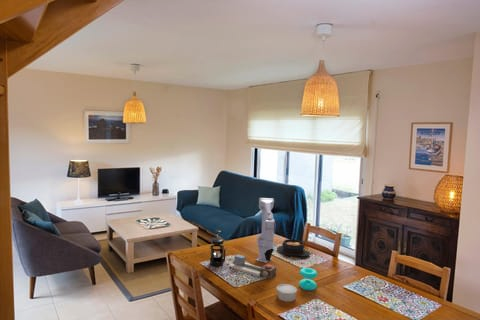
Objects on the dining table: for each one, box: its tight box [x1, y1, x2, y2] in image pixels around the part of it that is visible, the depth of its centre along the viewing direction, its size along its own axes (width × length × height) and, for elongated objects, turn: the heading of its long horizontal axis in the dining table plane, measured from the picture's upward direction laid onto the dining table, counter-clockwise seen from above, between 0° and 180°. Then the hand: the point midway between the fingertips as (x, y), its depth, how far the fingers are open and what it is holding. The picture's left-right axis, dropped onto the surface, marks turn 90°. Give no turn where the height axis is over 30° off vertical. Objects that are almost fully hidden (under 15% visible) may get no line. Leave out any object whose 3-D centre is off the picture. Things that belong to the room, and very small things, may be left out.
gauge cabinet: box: [259, 263, 277, 280], centre depth 205 cm, size 8×7×5 cm
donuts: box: [298, 267, 318, 291], centre depth 191 cm, size 10×10×10 cm
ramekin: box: [275, 283, 298, 303], centre depth 178 cm, size 11×11×5 cm
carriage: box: [233, 253, 247, 266], centre depth 216 cm, size 4×6×5 cm, turn 58°
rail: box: [228, 259, 262, 277], centre depth 213 cm, size 10×22×3 cm, turn 58°
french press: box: [209, 229, 227, 268], centre depth 218 cm, size 12×9×23 cm
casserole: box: [276, 238, 311, 257], centre depth 245 cm, size 25×19×8 cm
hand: (267, 260), depth 205 cm, fingers closed
